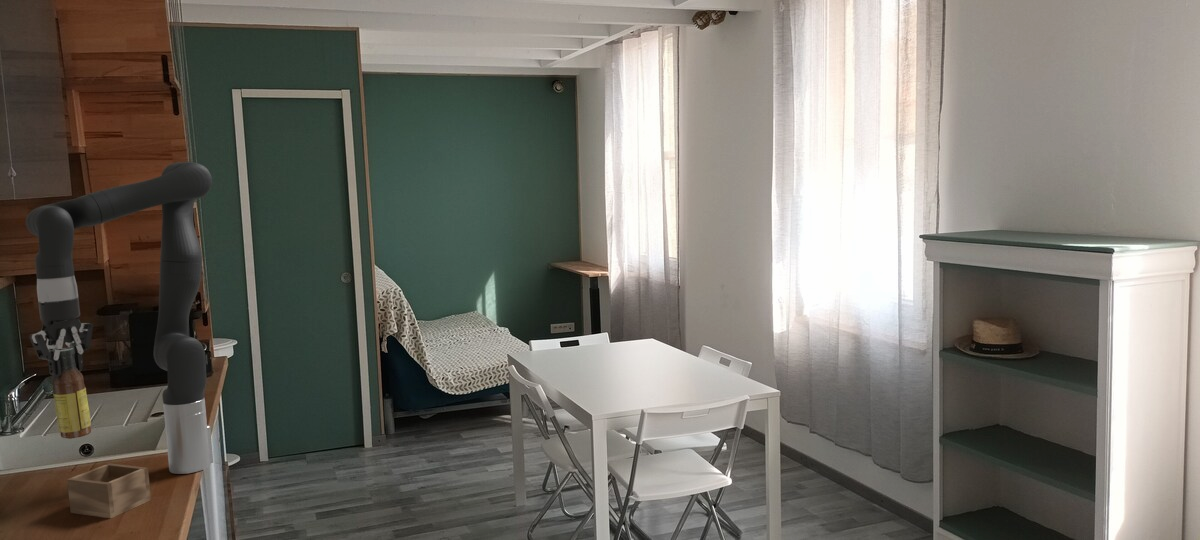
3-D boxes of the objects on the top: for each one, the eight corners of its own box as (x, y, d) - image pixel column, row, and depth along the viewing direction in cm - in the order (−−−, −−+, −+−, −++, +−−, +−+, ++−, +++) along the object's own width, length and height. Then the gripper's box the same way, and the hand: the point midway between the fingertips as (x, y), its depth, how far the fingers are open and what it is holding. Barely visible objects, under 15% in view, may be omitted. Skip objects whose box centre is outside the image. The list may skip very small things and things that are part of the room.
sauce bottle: (85, 429, 199) (76, 344, 197) (96, 434, 195) (87, 347, 193) (53, 437, 194) (43, 349, 192) (64, 441, 190) (54, 352, 188)
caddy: (112, 495, 199) (108, 463, 198) (151, 500, 195) (147, 467, 194) (70, 512, 189) (66, 479, 188) (110, 518, 185) (107, 484, 184)
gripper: (75, 292, 199) (83, 365, 201) (14, 302, 185) (24, 381, 188) (99, 292, 196) (107, 367, 198) (39, 303, 183) (49, 382, 185)
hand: (67, 373), depth 193 cm, fingers closed on sauce bottle, 4 cm apart
